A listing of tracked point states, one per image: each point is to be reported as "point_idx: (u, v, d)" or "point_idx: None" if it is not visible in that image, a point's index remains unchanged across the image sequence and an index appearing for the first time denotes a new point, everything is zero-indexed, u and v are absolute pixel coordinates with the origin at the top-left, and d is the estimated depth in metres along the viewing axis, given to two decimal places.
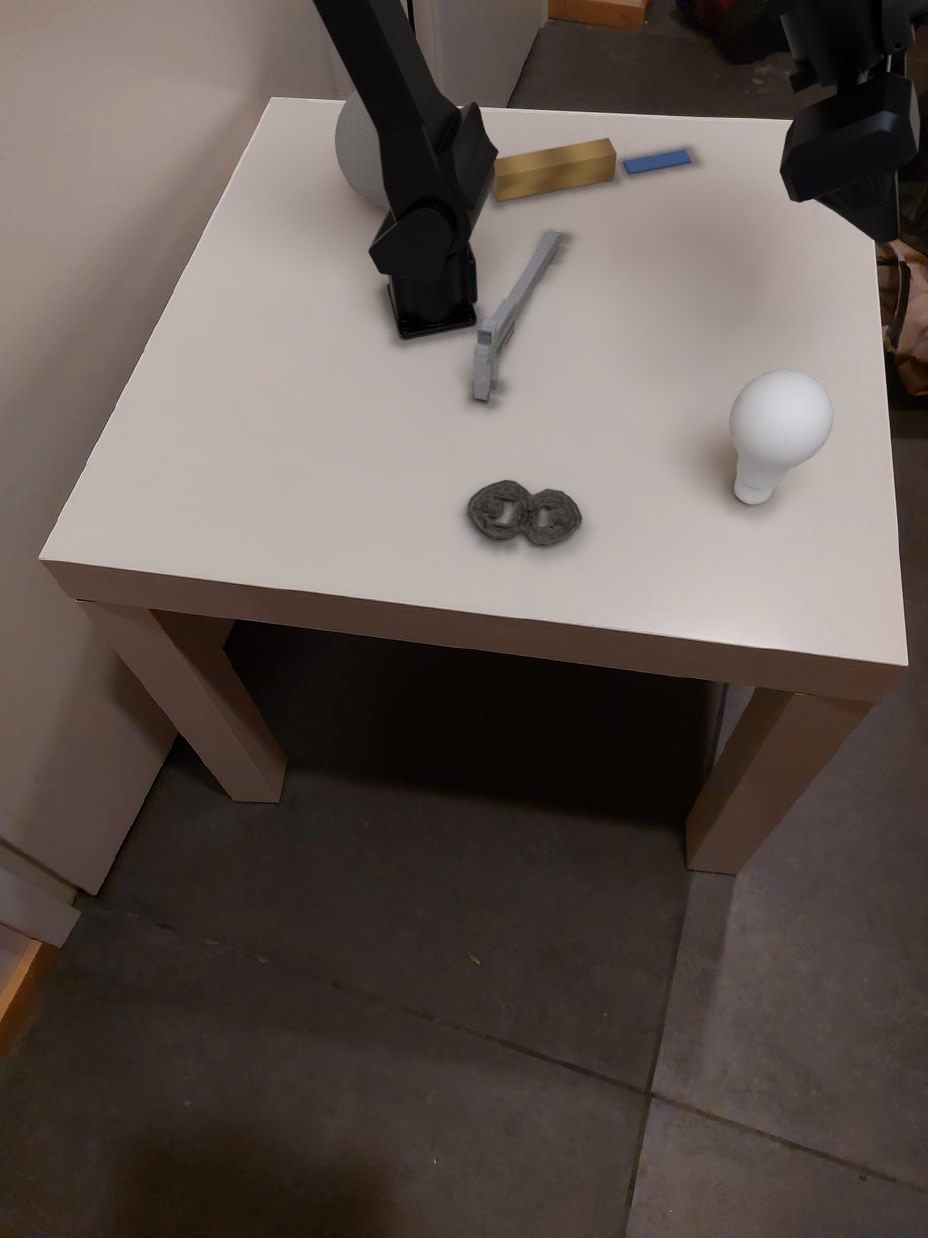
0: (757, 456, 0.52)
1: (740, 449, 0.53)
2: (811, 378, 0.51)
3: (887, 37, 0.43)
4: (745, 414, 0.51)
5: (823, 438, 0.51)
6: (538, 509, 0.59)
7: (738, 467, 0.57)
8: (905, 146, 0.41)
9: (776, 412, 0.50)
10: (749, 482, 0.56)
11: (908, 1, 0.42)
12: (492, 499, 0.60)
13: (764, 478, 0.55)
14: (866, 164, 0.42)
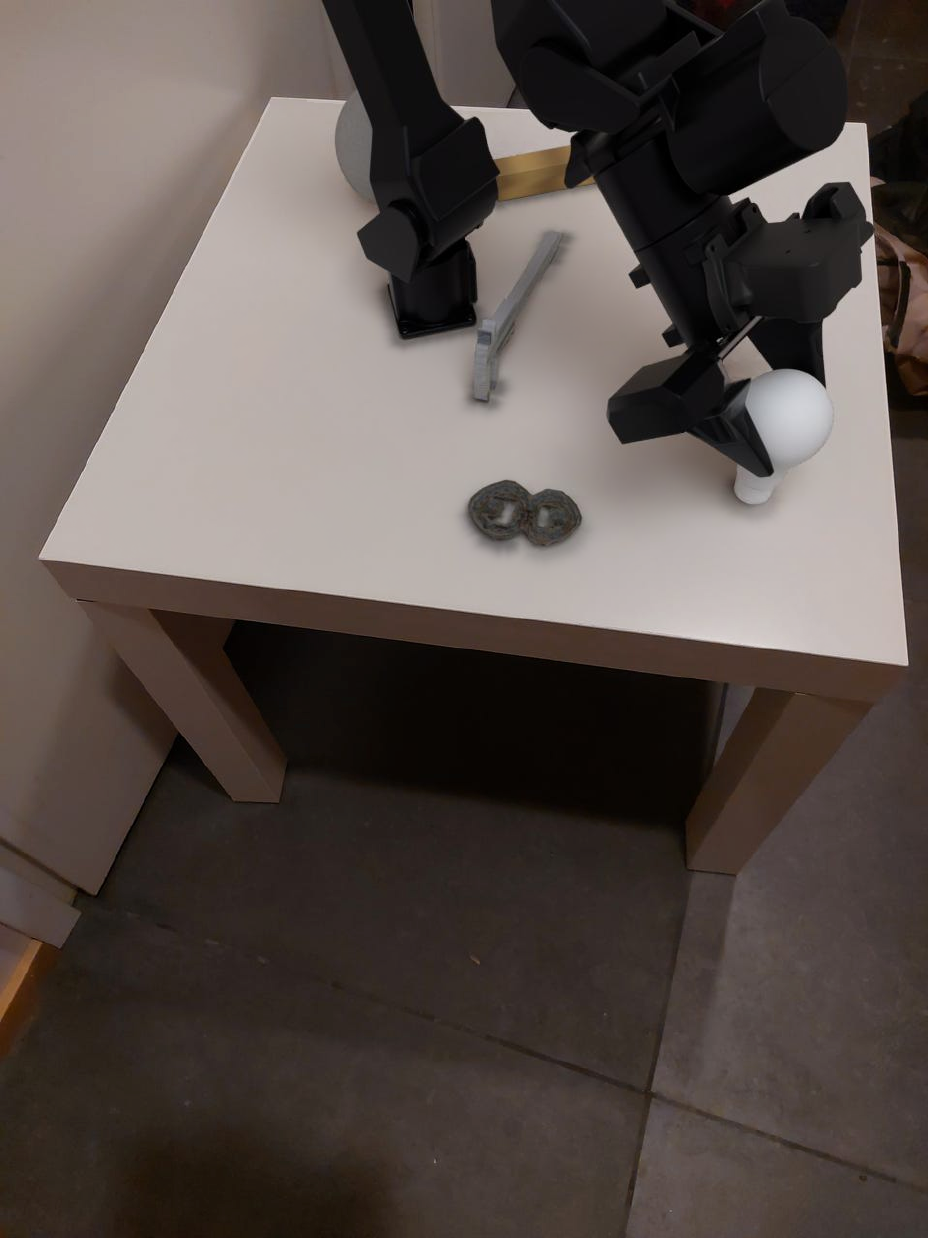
0: None
1: None
2: (811, 378, 0.51)
3: (718, 319, 0.47)
4: None
5: (823, 438, 0.51)
6: (538, 509, 0.59)
7: (738, 467, 0.57)
8: (680, 419, 0.45)
9: (776, 412, 0.50)
10: (749, 482, 0.56)
11: (728, 294, 0.46)
12: (492, 499, 0.60)
13: (764, 478, 0.55)
14: (656, 426, 0.47)
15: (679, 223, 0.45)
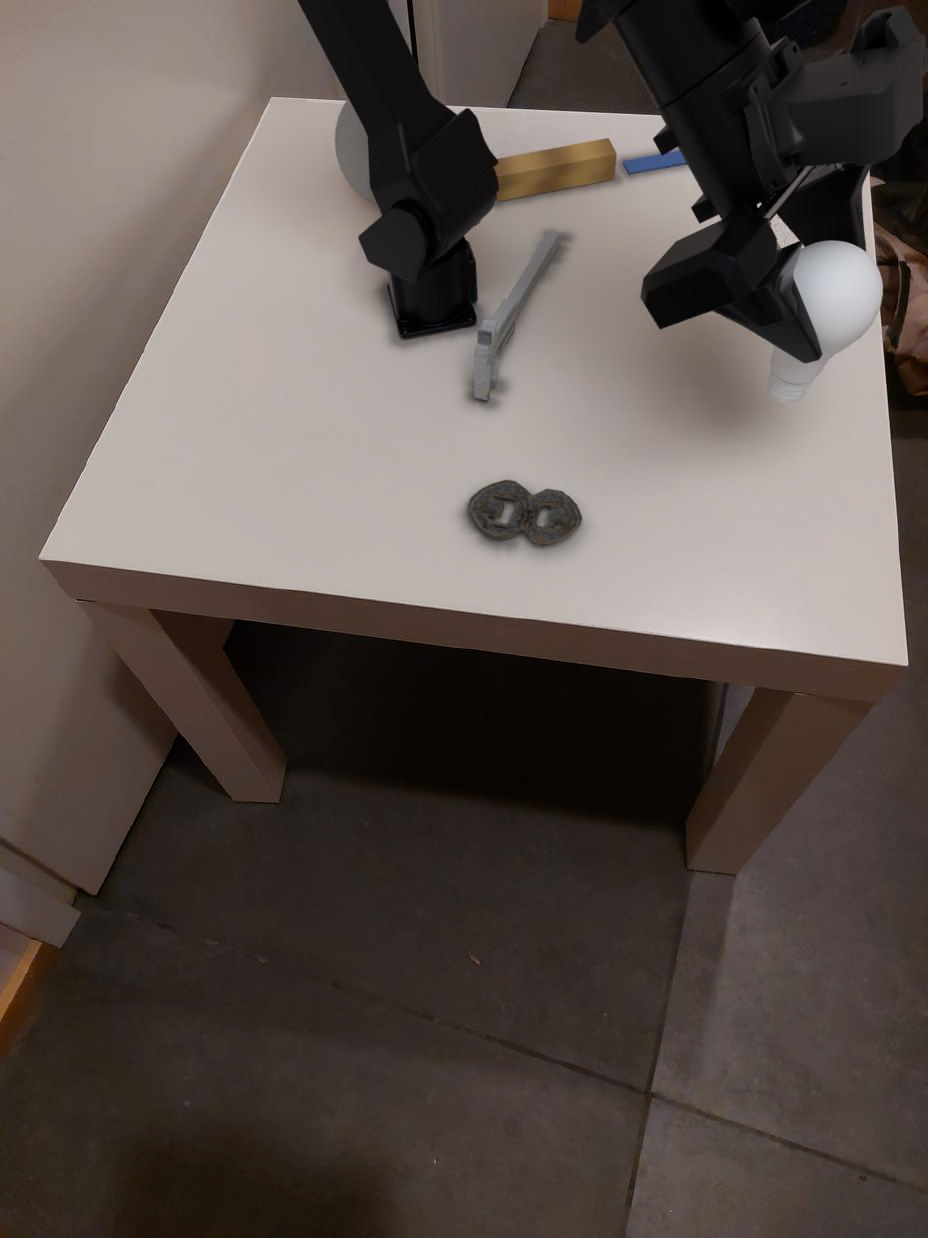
0: None
1: None
2: (857, 247, 0.46)
3: (762, 176, 0.42)
4: None
5: (874, 313, 0.47)
6: (538, 509, 0.59)
7: (774, 361, 0.52)
8: (734, 284, 0.40)
9: (825, 285, 0.45)
10: (787, 376, 0.52)
11: (775, 142, 0.41)
12: (492, 499, 0.60)
13: (805, 369, 0.51)
14: (704, 298, 0.42)
15: (716, 64, 0.40)
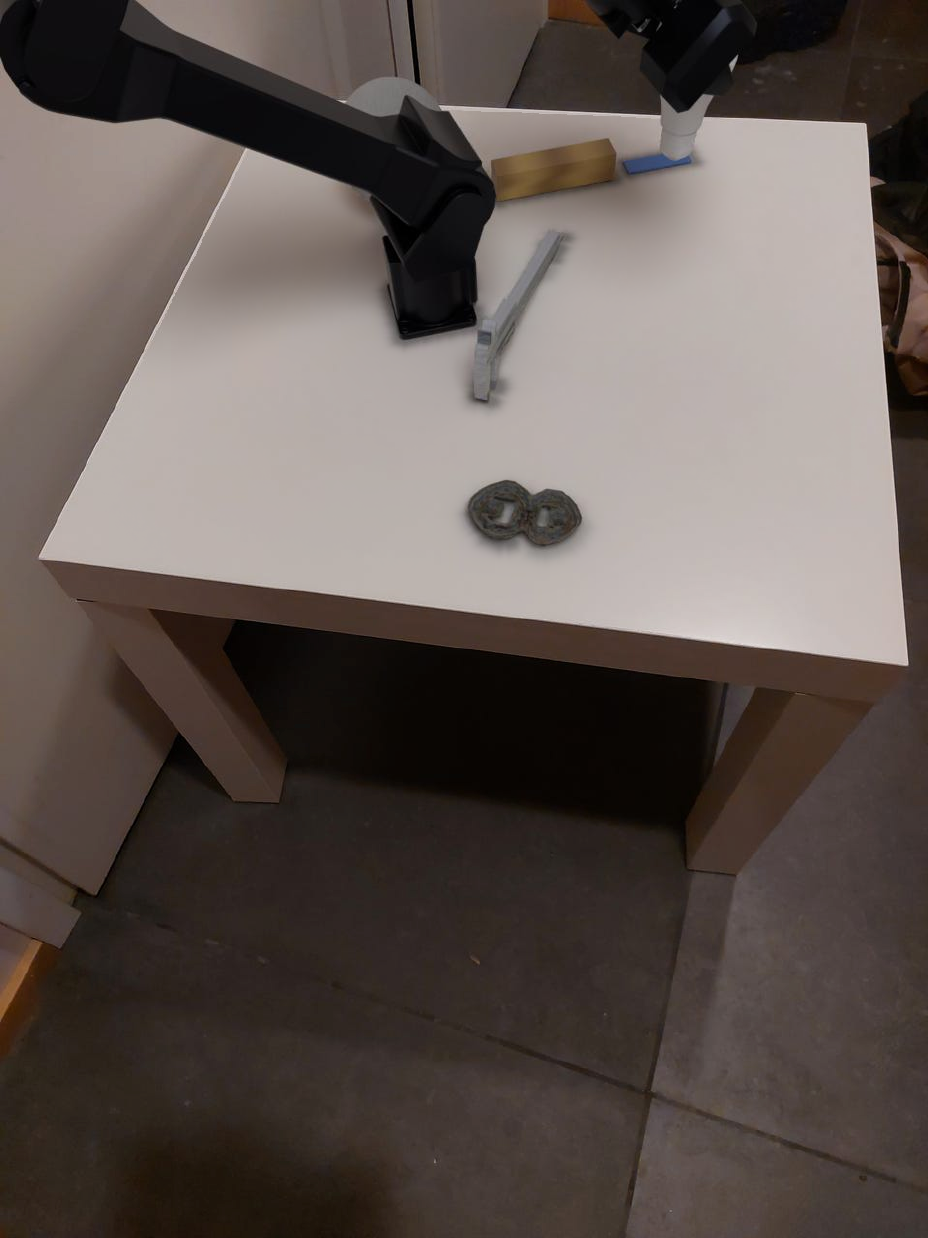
0: None
1: None
2: None
3: None
4: None
5: None
6: (538, 509, 0.59)
7: (676, 125, 0.63)
8: (749, 23, 0.50)
9: None
10: (692, 128, 0.63)
11: None
12: (492, 499, 0.60)
13: (704, 111, 0.63)
14: (727, 52, 0.51)
15: None
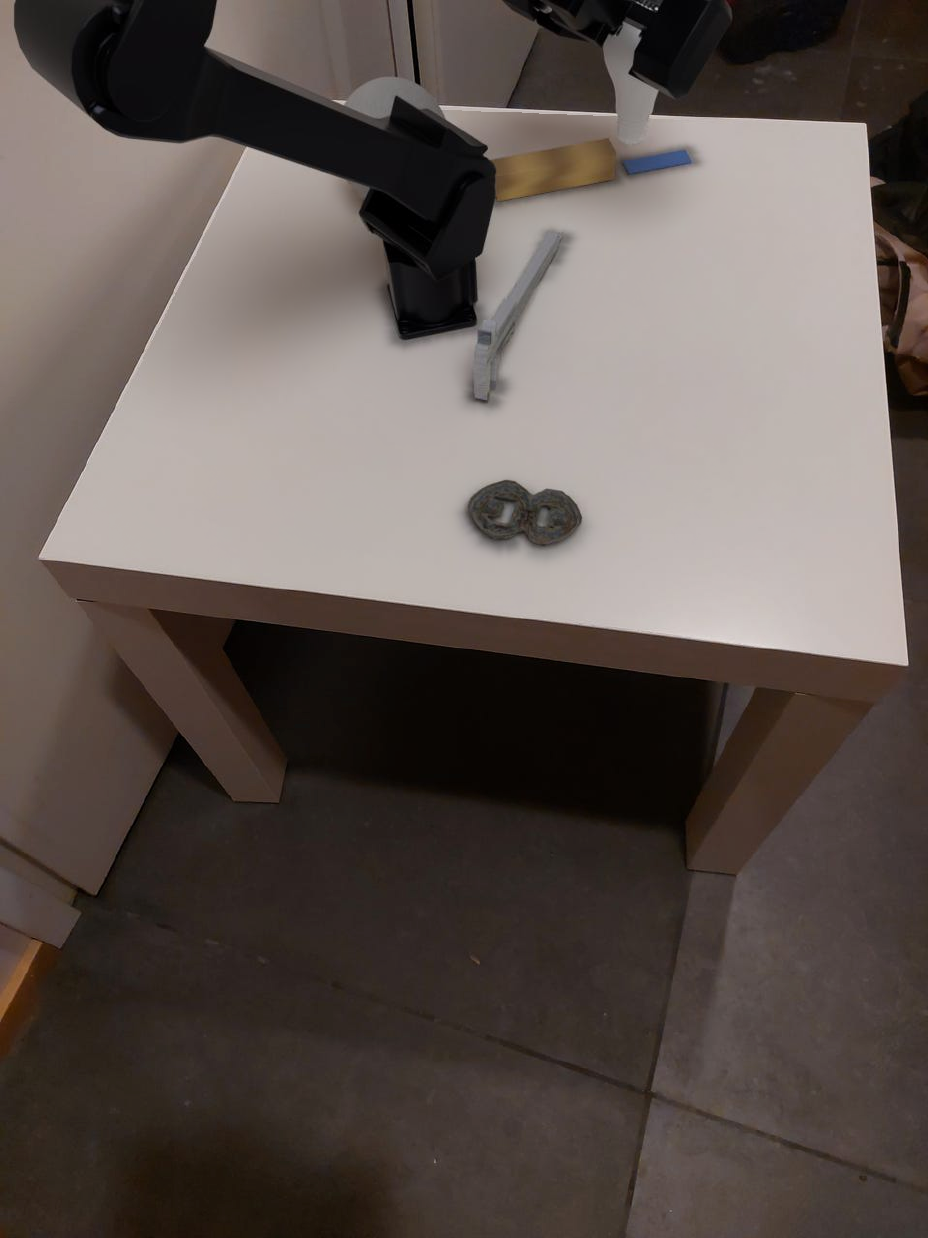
0: None
1: None
2: None
3: None
4: None
5: None
6: (538, 509, 0.59)
7: (636, 112, 0.70)
8: (728, 10, 0.57)
9: None
10: (649, 112, 0.70)
11: None
12: (492, 499, 0.60)
13: (656, 95, 0.70)
14: (714, 39, 0.58)
15: None
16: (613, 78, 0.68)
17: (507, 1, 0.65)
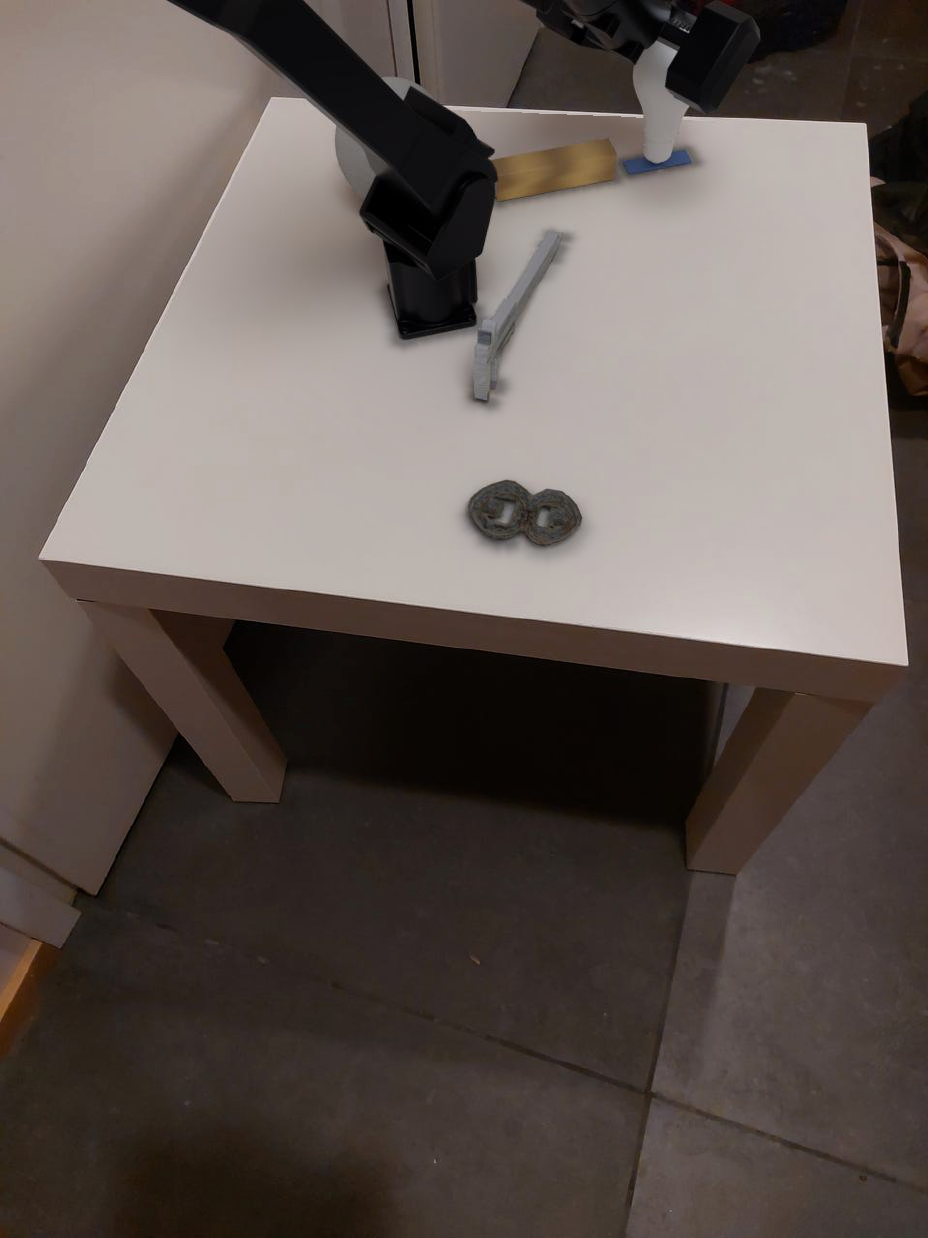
0: None
1: None
2: None
3: None
4: None
5: None
6: (538, 509, 0.59)
7: (663, 134, 0.74)
8: (757, 31, 0.61)
9: None
10: (675, 133, 0.75)
11: None
12: (492, 499, 0.60)
13: None
14: (743, 58, 0.61)
15: None
16: (642, 103, 0.72)
17: (543, 20, 0.69)
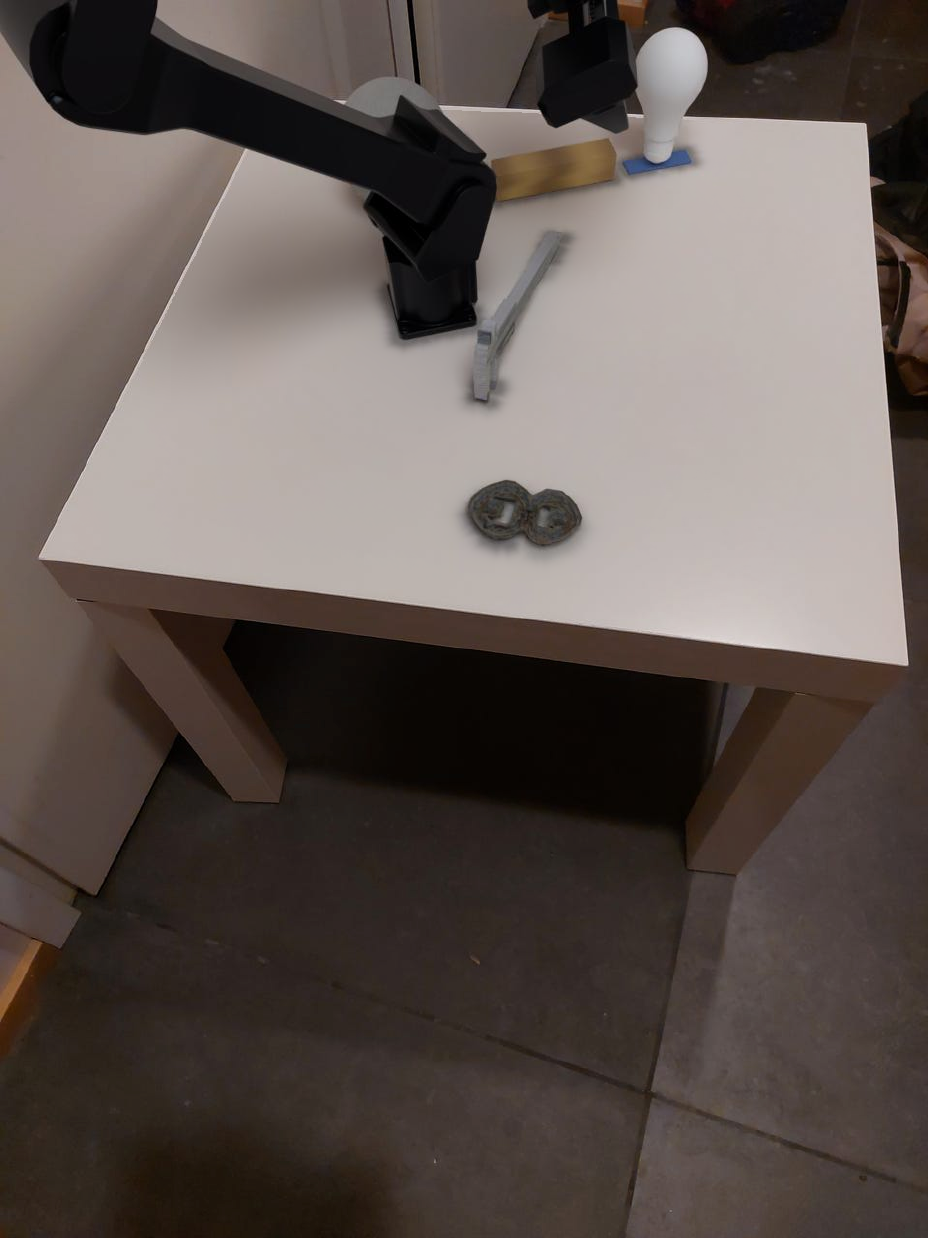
0: (698, 89, 0.71)
1: (685, 100, 0.71)
2: None
3: None
4: (681, 71, 0.69)
5: None
6: (538, 509, 0.59)
7: (663, 134, 0.74)
8: (628, 84, 0.53)
9: (693, 49, 0.68)
10: (675, 133, 0.75)
11: None
12: (492, 499, 0.60)
13: (682, 118, 0.74)
14: (602, 99, 0.54)
15: None
16: (642, 103, 0.72)
17: None
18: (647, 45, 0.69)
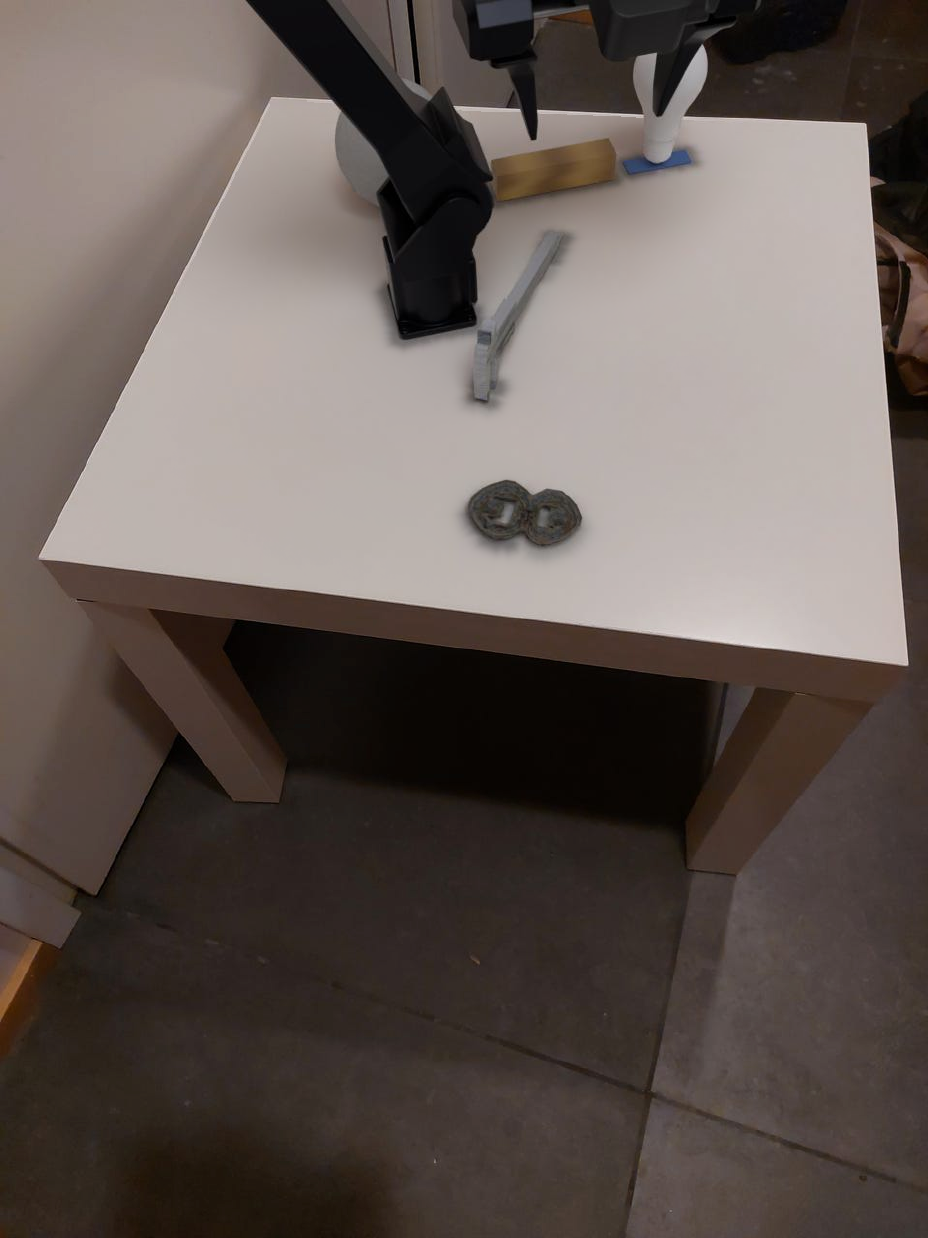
0: (698, 89, 0.71)
1: (685, 100, 0.71)
2: None
3: None
4: None
5: None
6: (538, 509, 0.59)
7: (663, 134, 0.74)
8: (472, 45, 0.51)
9: None
10: (675, 133, 0.75)
11: None
12: (492, 499, 0.60)
13: (682, 118, 0.74)
14: (463, 31, 0.52)
15: None
16: (642, 103, 0.72)
17: None
18: None
